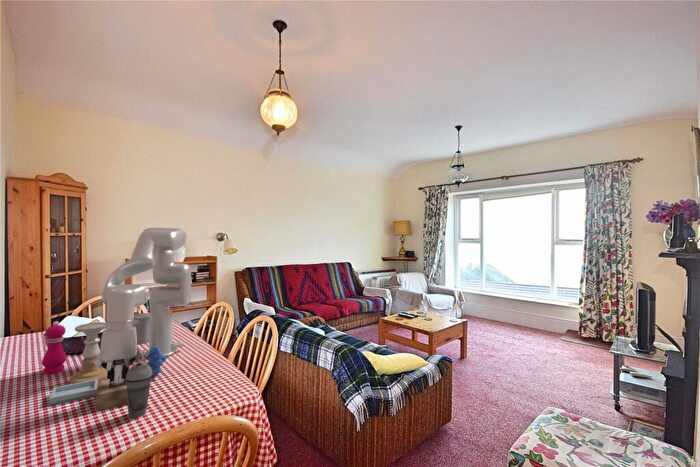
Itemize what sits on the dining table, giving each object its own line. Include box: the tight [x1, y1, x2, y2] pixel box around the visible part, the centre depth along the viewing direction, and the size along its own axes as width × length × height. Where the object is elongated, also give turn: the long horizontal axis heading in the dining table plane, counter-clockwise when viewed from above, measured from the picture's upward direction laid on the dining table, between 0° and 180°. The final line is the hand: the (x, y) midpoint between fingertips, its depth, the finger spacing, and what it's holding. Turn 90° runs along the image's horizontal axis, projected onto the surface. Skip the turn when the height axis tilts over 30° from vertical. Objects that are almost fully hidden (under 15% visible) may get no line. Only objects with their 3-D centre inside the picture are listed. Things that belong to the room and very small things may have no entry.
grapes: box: [146, 347, 168, 378], centre depth 127 cm, size 12×7×12 cm, turn 49°
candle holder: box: [68, 321, 107, 385], centre depth 123 cm, size 12×12×20 cm
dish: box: [48, 379, 98, 407], centre depth 109 cm, size 12×9×2 cm
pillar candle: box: [134, 312, 150, 345], centre depth 166 cm, size 10×10×15 cm
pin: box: [112, 359, 125, 388], centre depth 108 cm, size 3×3×14 cm
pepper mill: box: [41, 320, 67, 376], centre depth 128 cm, size 7×7×20 cm
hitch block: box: [95, 379, 128, 412], centre depth 108 cm, size 11×11×5 cm
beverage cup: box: [125, 348, 153, 419], centre depth 99 cm, size 7×7×20 cm
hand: (117, 379), depth 108 cm, fingers closed on pin, 3 cm apart
